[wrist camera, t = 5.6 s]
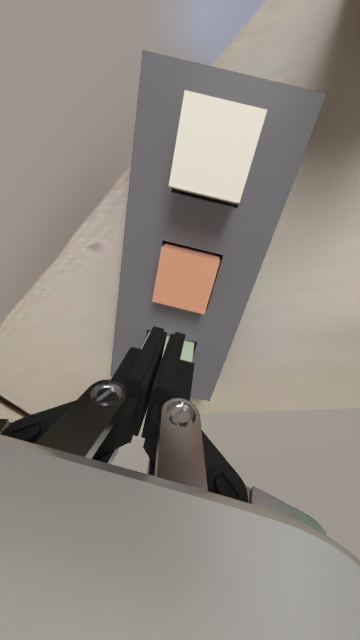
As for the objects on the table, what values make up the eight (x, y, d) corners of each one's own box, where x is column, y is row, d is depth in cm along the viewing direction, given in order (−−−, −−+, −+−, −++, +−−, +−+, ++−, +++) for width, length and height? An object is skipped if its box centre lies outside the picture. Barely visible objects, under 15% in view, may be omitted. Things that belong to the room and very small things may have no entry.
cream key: (254, 131, 20) (267, 109, 15) (233, 203, 22) (239, 203, 18) (190, 116, 20) (184, 89, 15) (177, 190, 22) (168, 186, 18)
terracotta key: (218, 252, 26) (220, 261, 21) (205, 297, 28) (204, 314, 24) (170, 240, 26) (161, 246, 21) (161, 286, 28) (152, 301, 24)
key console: (306, 113, 21) (326, 93, 17) (209, 381, 35) (209, 400, 32) (154, 77, 21) (142, 50, 17) (120, 358, 35) (110, 375, 32)
